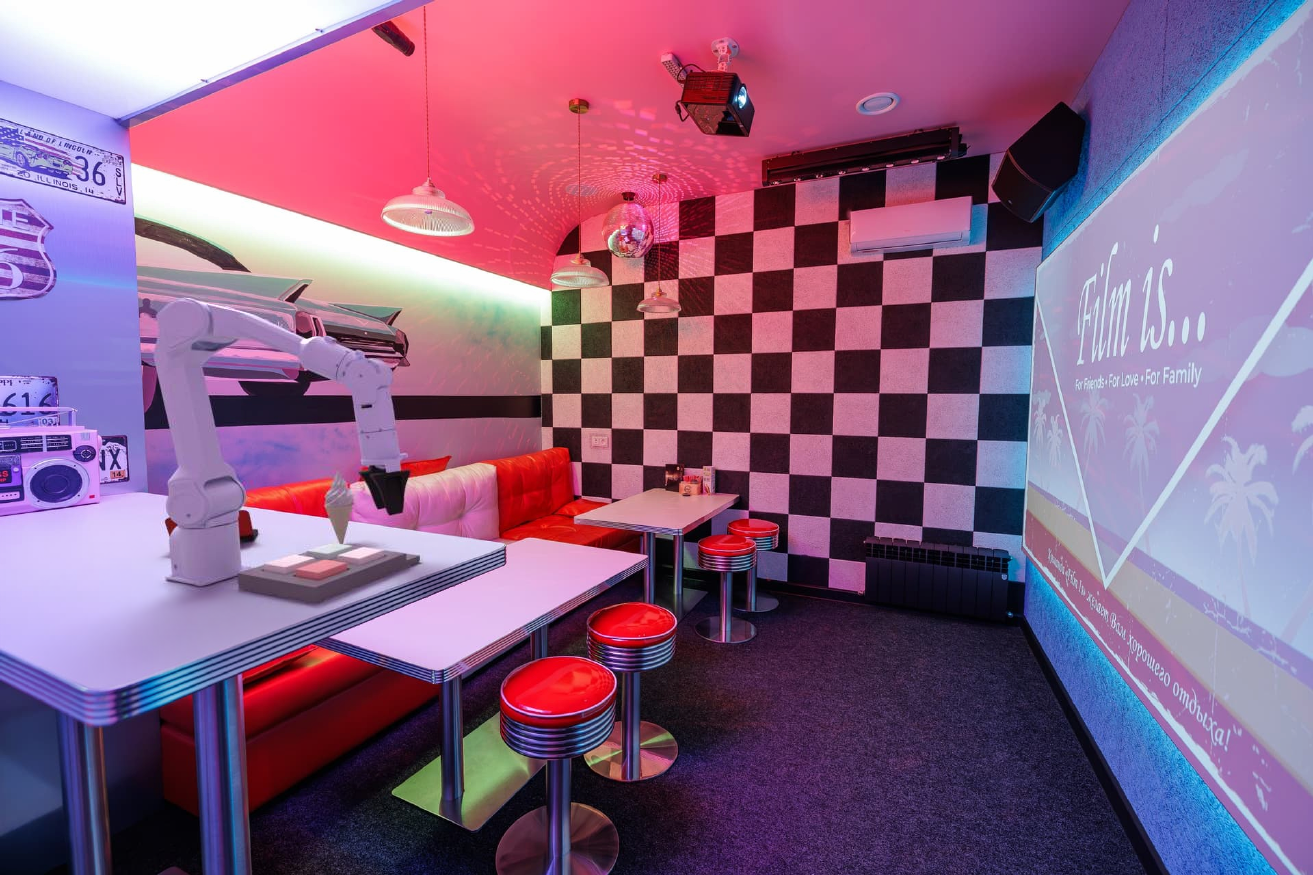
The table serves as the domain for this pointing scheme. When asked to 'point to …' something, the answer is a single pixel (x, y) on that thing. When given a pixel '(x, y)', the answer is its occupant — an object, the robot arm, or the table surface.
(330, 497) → the ice cream cone
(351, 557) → the ivory key
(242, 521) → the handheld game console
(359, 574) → the keypad frame
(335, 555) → the mint key
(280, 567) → the ivory key
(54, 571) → the table surface
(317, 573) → the coral key
